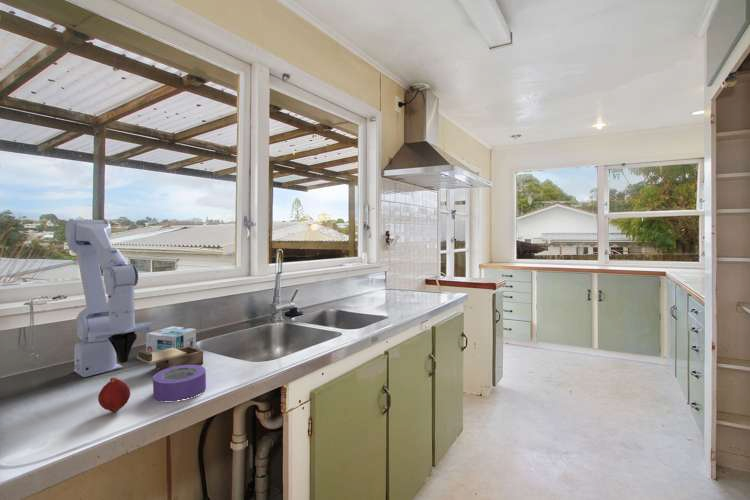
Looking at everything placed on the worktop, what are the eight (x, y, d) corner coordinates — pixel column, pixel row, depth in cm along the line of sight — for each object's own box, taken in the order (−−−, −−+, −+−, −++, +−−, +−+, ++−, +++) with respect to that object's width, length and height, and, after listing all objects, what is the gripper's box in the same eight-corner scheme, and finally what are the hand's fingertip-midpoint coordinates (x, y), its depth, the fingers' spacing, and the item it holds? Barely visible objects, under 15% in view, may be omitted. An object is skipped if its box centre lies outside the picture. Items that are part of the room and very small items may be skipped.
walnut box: (169, 373, 106) (169, 359, 106) (155, 367, 111) (155, 354, 111) (203, 364, 114) (203, 351, 114) (189, 358, 119) (189, 346, 119)
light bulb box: (196, 328, 130) (172, 336, 120) (196, 347, 130) (172, 357, 120) (171, 325, 133) (144, 333, 123) (171, 344, 133) (145, 353, 123)
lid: (150, 364, 102) (149, 355, 102) (136, 358, 107) (136, 349, 107) (186, 354, 110) (186, 346, 110) (173, 349, 115) (172, 341, 115)
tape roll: (178, 406, 87) (178, 385, 87) (141, 398, 91) (141, 378, 91) (216, 387, 98) (216, 368, 98) (182, 380, 103) (181, 362, 102)
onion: (109, 406, 87) (108, 371, 86) (135, 405, 87) (135, 371, 87) (92, 418, 81) (91, 382, 81) (121, 417, 82) (120, 381, 81)
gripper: (94, 318, 91) (96, 373, 92) (157, 308, 103) (158, 357, 104) (84, 314, 96) (85, 366, 96) (146, 305, 107) (147, 352, 108)
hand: (122, 361), depth 100 cm, fingers closed
